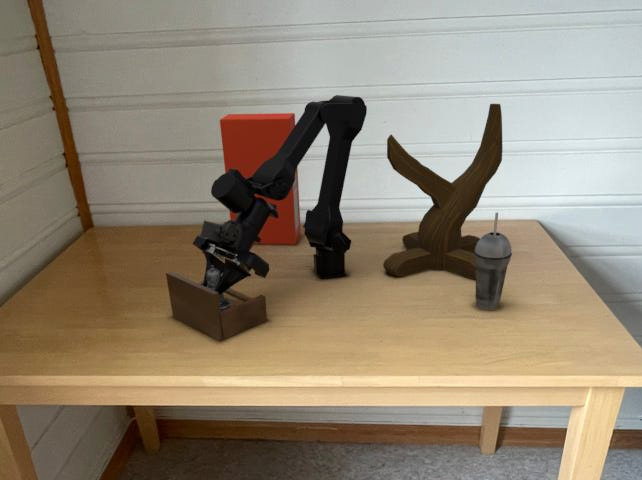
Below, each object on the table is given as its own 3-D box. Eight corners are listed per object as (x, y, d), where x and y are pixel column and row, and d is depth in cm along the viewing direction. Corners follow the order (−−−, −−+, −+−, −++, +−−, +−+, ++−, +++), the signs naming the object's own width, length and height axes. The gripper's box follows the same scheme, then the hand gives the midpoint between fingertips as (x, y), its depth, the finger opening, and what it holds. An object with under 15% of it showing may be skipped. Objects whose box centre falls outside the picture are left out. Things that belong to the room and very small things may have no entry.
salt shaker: (205, 314, 135) (198, 260, 129) (233, 312, 135) (227, 258, 129) (204, 326, 129) (196, 271, 124) (233, 324, 130) (226, 269, 124)
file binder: (295, 245, 169) (288, 118, 153) (232, 244, 172) (219, 119, 156) (300, 235, 176) (294, 112, 160) (240, 234, 179) (228, 114, 163)
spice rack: (219, 299, 141) (214, 256, 136) (267, 320, 130) (263, 275, 125) (172, 317, 134) (165, 272, 129) (219, 341, 123) (213, 294, 118)
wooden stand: (458, 236, 170) (469, 95, 152) (523, 273, 146) (545, 111, 128) (357, 252, 163) (357, 106, 145) (409, 294, 139) (416, 126, 121)
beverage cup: (506, 300, 134) (518, 206, 124) (504, 315, 128) (516, 217, 118) (471, 296, 136) (479, 204, 126) (467, 311, 130) (475, 215, 120)
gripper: (194, 195, 129) (156, 262, 128) (252, 212, 117) (211, 286, 116) (229, 224, 137) (193, 286, 136) (287, 242, 125) (248, 311, 124)
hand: (209, 292), depth 128 cm, fingers closed on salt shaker, 4 cm apart
